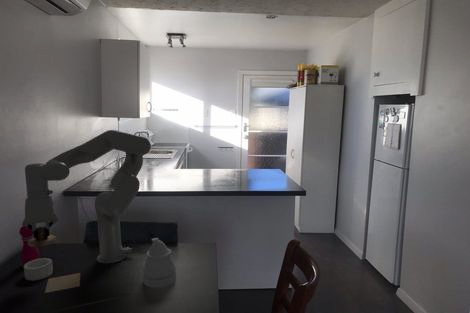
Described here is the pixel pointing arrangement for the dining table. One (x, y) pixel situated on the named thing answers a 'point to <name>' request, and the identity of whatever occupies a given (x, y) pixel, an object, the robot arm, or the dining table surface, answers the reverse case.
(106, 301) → the dining table surface
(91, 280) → the dining table surface
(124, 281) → the dining table surface
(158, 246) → the honey pot
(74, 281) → the mat
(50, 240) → the lid
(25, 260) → the pepper mill
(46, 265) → the bowl
